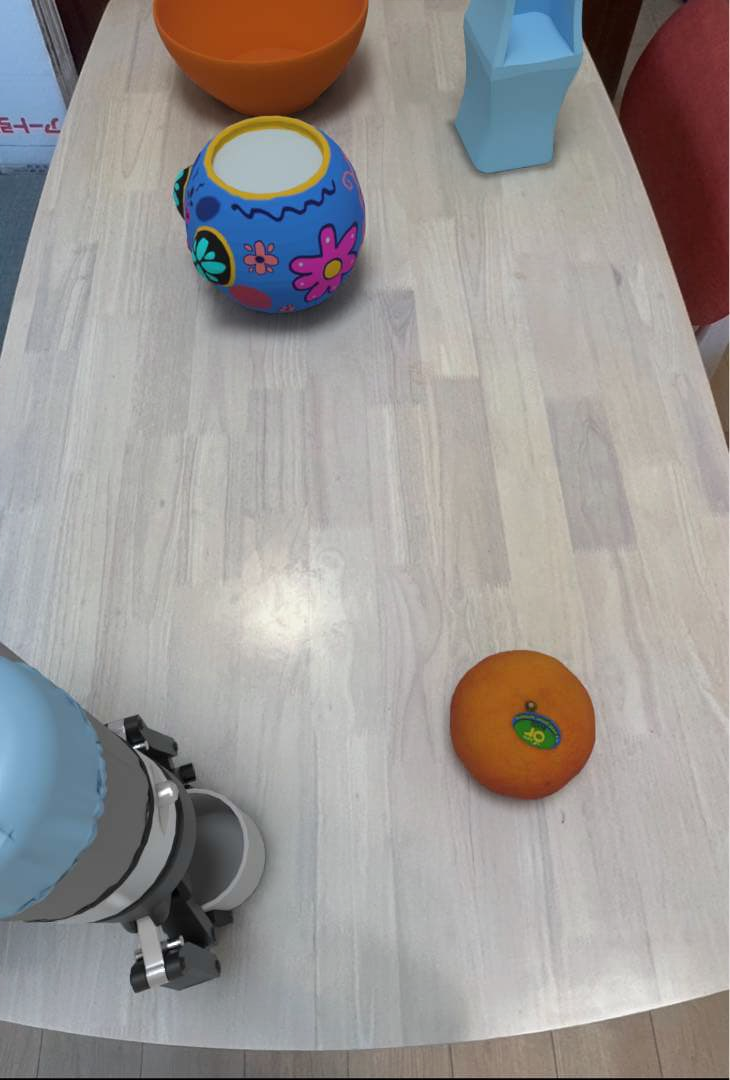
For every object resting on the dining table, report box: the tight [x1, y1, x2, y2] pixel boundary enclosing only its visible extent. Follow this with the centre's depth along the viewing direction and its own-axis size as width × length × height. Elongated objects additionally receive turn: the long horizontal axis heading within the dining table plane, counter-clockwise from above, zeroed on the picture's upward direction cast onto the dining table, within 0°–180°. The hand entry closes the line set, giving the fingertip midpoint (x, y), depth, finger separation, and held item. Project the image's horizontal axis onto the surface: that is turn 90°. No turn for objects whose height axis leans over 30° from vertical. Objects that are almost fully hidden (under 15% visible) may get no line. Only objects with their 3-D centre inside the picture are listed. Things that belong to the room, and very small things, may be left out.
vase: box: [453, 0, 584, 174], centre depth 79 cm, size 10×10×25 cm
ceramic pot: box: [172, 116, 367, 314], centre depth 74 cm, size 18×18×15 cm
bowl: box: [152, 0, 369, 117], centre depth 92 cm, size 25×25×10 cm
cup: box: [186, 787, 266, 912], centre depth 51 cm, size 7×10×9 cm
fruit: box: [449, 649, 597, 801], centre depth 55 cm, size 11×10×8 cm
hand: (201, 864), depth 54 cm, fingers closed on cup, 7 cm apart
